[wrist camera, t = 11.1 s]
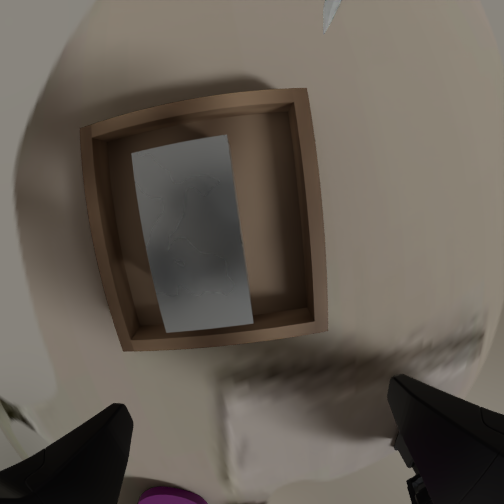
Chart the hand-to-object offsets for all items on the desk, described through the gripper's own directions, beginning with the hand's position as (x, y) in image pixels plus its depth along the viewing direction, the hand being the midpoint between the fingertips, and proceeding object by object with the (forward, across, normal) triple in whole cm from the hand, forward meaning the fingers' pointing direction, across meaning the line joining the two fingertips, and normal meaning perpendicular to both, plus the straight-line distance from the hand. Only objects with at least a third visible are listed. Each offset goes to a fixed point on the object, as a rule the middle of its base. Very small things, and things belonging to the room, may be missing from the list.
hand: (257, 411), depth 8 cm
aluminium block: (+10, +2, -5) cm, 11 cm away
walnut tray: (+11, +2, -5) cm, 12 cm away
